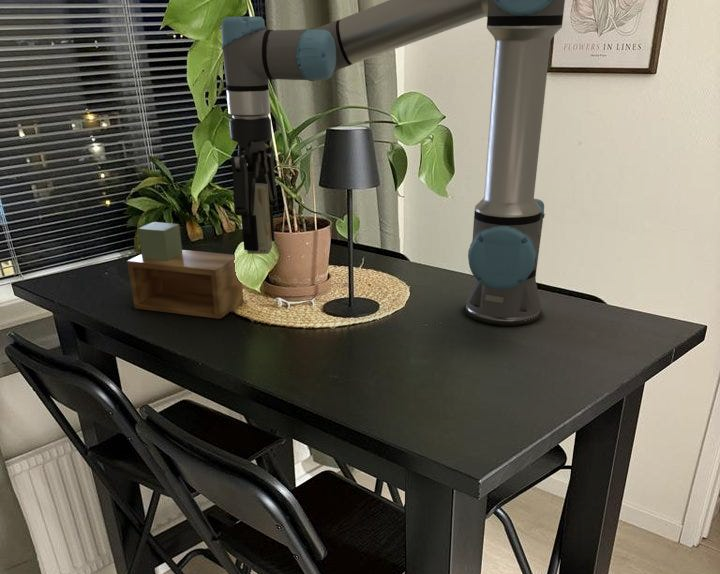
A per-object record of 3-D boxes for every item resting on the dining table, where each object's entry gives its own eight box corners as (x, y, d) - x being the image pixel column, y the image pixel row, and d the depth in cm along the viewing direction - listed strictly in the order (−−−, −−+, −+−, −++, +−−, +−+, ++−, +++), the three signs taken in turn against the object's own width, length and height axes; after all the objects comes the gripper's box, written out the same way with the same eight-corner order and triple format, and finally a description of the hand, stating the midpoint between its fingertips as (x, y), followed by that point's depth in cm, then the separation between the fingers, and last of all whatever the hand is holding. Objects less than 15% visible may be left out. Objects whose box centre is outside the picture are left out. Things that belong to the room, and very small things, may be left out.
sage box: (157, 250, 160) (153, 221, 156) (182, 253, 158) (179, 223, 155) (142, 258, 155) (137, 228, 152) (167, 261, 153) (163, 230, 150)
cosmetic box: (269, 254, 146) (264, 188, 140) (246, 254, 146) (240, 188, 140) (273, 245, 152) (268, 181, 145) (251, 246, 152) (246, 181, 145)
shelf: (161, 292, 167) (155, 246, 162) (243, 301, 162) (239, 255, 157) (134, 308, 159) (126, 260, 153) (220, 319, 153) (215, 270, 148)
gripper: (253, 109, 145) (263, 231, 157) (204, 122, 129) (219, 257, 141) (290, 110, 143) (296, 234, 155) (244, 124, 127) (255, 260, 139)
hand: (259, 244), depth 148 cm, fingers closed on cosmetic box, 7 cm apart
